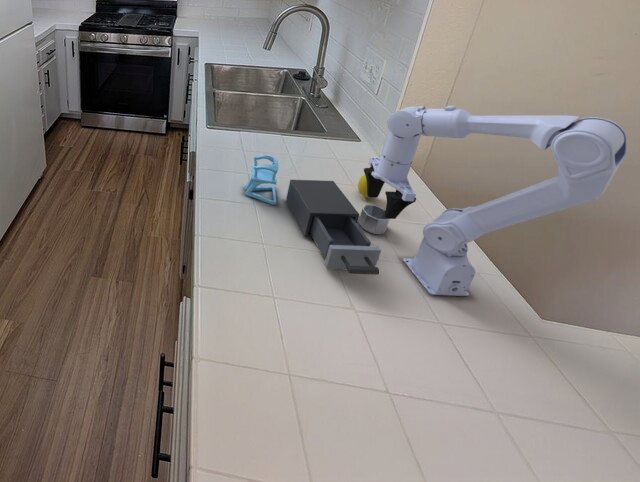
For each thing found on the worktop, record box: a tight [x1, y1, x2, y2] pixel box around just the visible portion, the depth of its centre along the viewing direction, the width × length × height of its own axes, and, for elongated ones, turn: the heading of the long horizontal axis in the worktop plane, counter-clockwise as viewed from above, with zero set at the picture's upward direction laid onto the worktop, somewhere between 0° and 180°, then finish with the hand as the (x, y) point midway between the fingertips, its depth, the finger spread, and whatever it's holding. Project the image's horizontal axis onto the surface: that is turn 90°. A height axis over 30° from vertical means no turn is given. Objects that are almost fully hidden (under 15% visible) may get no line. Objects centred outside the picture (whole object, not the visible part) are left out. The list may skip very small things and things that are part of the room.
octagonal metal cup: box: [357, 204, 391, 235], centre depth 97 cm, size 6×6×5 cm
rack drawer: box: [309, 215, 382, 276], centre depth 87 cm, size 17×10×6 cm, turn 178°
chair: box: [244, 154, 279, 206], centre depth 108 cm, size 8×8×12 cm
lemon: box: [357, 174, 371, 199], centre depth 108 cm, size 6×6×8 cm
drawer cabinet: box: [285, 179, 360, 239], centre depth 99 cm, size 14×12×8 cm
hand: (380, 206), depth 91 cm, fingers open, 7 cm apart
